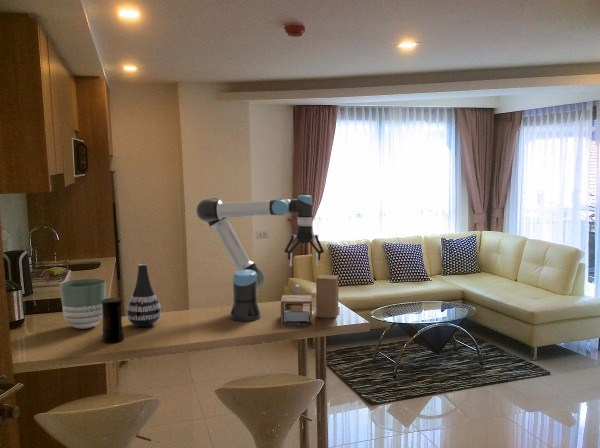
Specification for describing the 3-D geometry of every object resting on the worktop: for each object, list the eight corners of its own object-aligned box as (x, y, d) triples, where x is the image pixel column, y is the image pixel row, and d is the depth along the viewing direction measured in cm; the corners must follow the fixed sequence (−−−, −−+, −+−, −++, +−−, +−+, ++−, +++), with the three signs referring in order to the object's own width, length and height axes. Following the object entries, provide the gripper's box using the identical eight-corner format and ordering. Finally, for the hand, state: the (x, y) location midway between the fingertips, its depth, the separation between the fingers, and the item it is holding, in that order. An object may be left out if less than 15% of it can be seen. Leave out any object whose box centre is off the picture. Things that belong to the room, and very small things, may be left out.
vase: (168, 323, 251) (166, 263, 248) (146, 332, 236) (143, 268, 234) (143, 319, 257) (141, 261, 255) (119, 328, 243) (117, 266, 241)
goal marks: (313, 314, 265) (313, 314, 265) (280, 314, 265) (280, 314, 265) (313, 310, 273) (313, 310, 273) (281, 310, 273) (281, 310, 273)
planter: (116, 323, 251) (114, 280, 249) (87, 335, 232) (85, 288, 230) (83, 320, 257) (81, 277, 255) (52, 331, 238) (50, 285, 237)
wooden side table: (311, 322, 250) (311, 301, 249) (280, 322, 250) (280, 301, 250) (311, 315, 264) (311, 295, 263) (282, 315, 264) (282, 295, 264)
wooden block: (335, 318, 258) (335, 278, 256) (316, 317, 260) (316, 278, 258) (338, 313, 268) (338, 275, 266) (319, 312, 270) (319, 274, 268)
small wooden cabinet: (308, 321, 251) (308, 294, 250) (284, 321, 251) (283, 294, 250) (308, 310, 274) (308, 284, 272) (286, 310, 274) (286, 284, 273)
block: (302, 320, 255) (302, 305, 254) (290, 320, 255) (290, 305, 254) (302, 317, 261) (302, 302, 260) (291, 317, 261) (290, 302, 260)
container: (105, 337, 228) (103, 297, 226) (125, 337, 229) (124, 297, 227) (98, 344, 219) (97, 302, 218) (120, 343, 220) (119, 301, 218)
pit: (306, 326, 244) (306, 326, 244) (285, 326, 244) (285, 326, 244) (306, 323, 249) (306, 323, 249) (286, 323, 249) (286, 323, 249)
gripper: (280, 225, 261) (280, 267, 263) (329, 226, 263) (328, 267, 265) (280, 224, 268) (279, 264, 270) (327, 224, 271) (326, 265, 272)
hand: (303, 266), depth 268 cm, fingers open, 13 cm apart
